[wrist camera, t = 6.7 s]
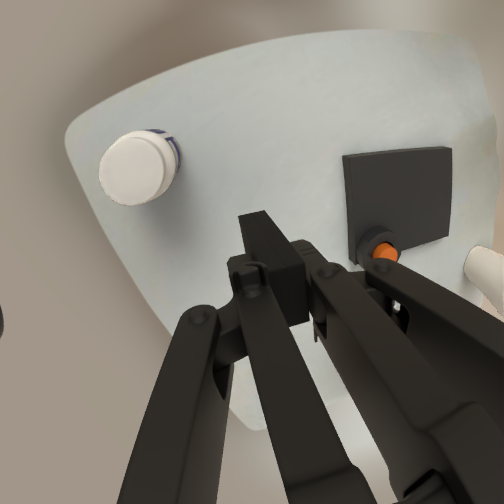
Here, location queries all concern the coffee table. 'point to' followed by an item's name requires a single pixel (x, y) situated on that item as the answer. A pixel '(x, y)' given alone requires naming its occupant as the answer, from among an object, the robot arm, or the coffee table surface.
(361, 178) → the scale
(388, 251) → the button
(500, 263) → the foam cup
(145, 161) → the pill bottle
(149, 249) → the coffee table surface
